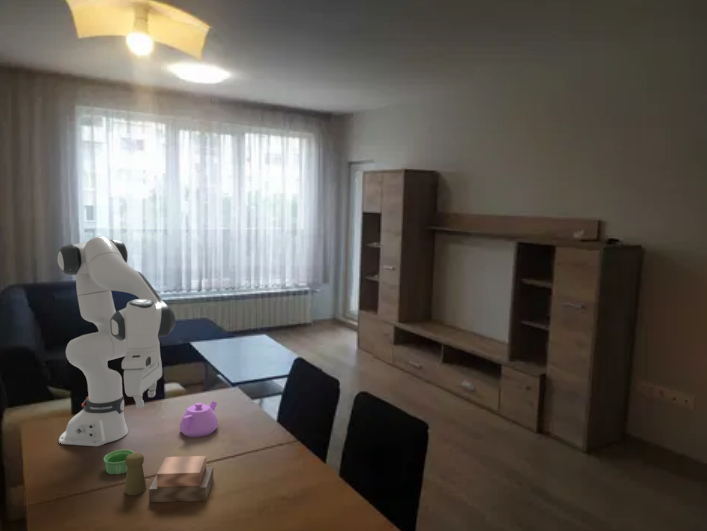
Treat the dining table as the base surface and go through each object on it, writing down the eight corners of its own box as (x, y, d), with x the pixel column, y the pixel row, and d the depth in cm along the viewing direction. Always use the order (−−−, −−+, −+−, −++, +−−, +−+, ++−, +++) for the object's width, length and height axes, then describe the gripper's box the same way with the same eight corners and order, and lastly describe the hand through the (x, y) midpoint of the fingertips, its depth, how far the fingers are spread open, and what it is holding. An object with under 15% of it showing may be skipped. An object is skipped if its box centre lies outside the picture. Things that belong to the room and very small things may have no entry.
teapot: (230, 422, 201) (230, 396, 200) (200, 444, 183) (199, 415, 181) (200, 417, 206) (200, 391, 204) (167, 437, 187) (167, 409, 186)
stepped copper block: (149, 502, 146) (148, 475, 145) (160, 480, 158) (160, 455, 157) (206, 500, 148) (206, 474, 147) (213, 478, 160) (213, 454, 159)
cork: (138, 496, 149) (137, 460, 148) (119, 493, 150) (118, 458, 149) (150, 485, 155) (149, 451, 154) (132, 483, 156) (131, 448, 155)
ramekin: (104, 464, 167) (104, 451, 166) (134, 459, 170) (134, 447, 170) (103, 478, 159) (102, 464, 158) (134, 472, 162) (134, 459, 162)
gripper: (145, 347, 159) (147, 391, 160) (118, 364, 138) (121, 414, 139) (166, 346, 159) (168, 390, 160) (142, 364, 139) (144, 413, 140)
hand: (146, 401), depth 149 cm, fingers open, 8 cm apart
